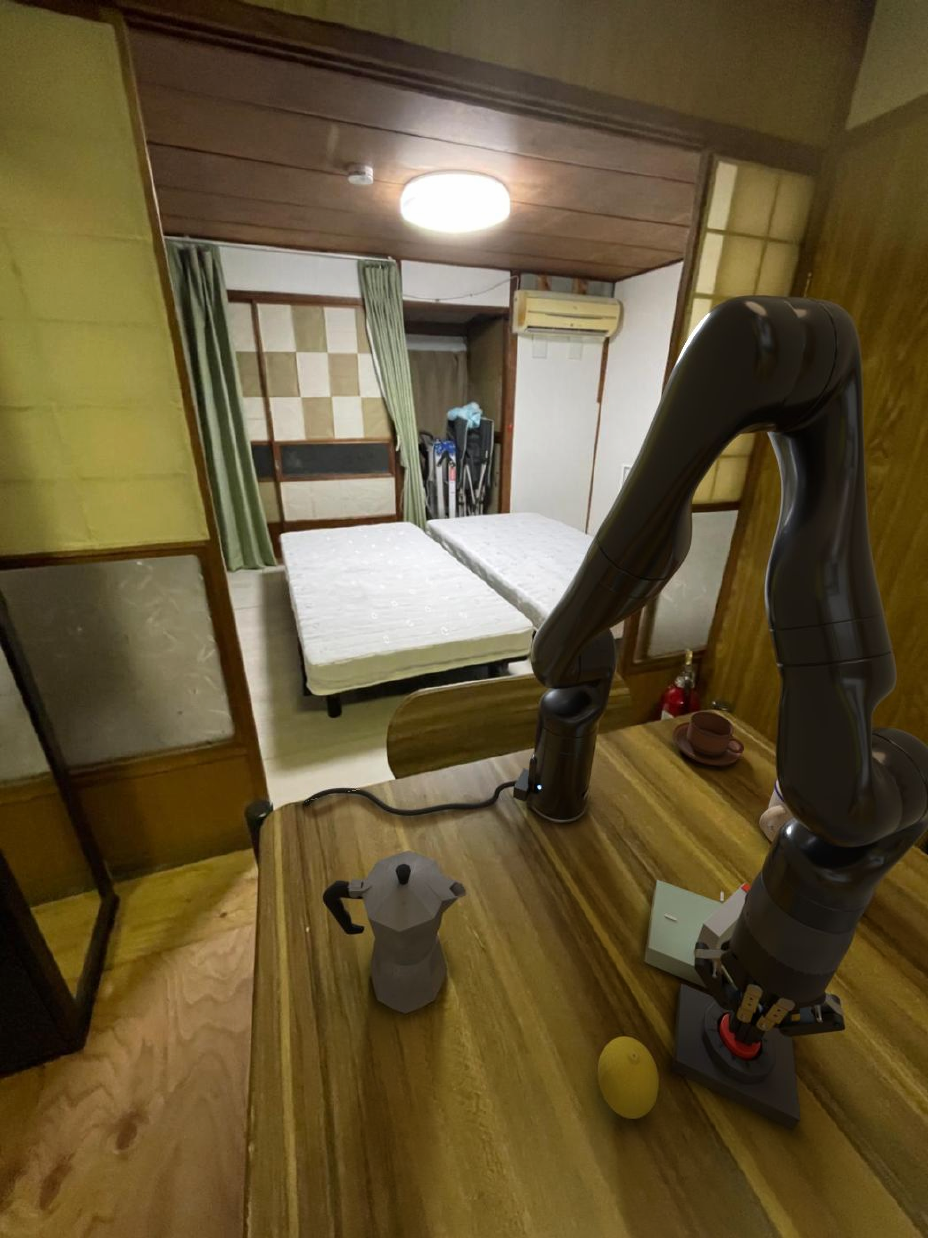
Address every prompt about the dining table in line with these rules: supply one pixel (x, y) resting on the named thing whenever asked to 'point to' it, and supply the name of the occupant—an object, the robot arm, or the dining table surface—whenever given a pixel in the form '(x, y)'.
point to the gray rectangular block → (723, 920)
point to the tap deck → (677, 930)
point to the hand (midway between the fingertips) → (741, 1033)
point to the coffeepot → (401, 925)
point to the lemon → (628, 1077)
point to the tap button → (736, 1042)
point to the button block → (734, 1061)
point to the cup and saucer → (708, 739)
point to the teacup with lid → (775, 814)
